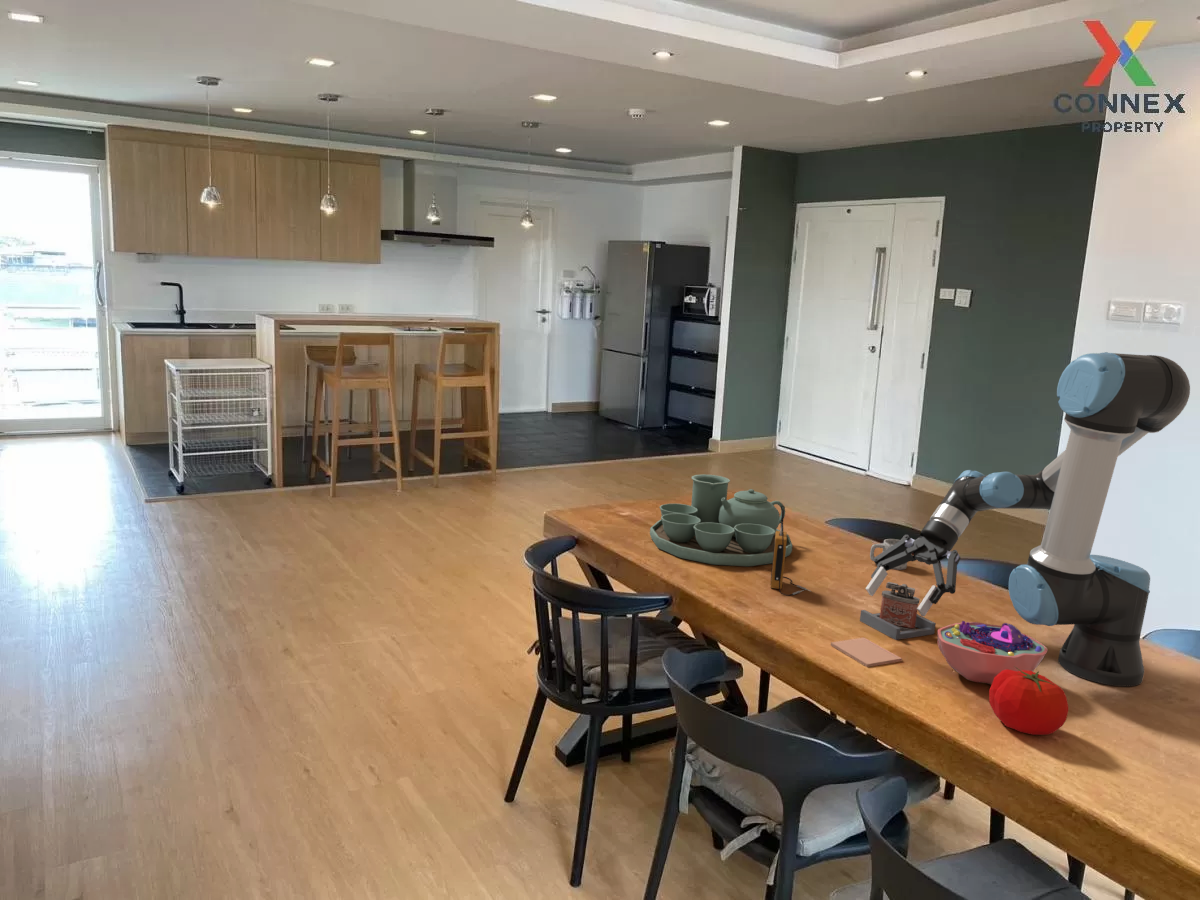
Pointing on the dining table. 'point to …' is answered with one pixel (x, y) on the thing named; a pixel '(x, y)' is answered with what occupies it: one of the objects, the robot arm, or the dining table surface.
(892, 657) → the mat
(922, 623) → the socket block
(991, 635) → the cell model
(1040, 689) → the tomato
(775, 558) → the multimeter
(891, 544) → the mug
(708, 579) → the dining table surface
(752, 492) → the tea set
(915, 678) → the dining table surface
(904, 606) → the lighter
